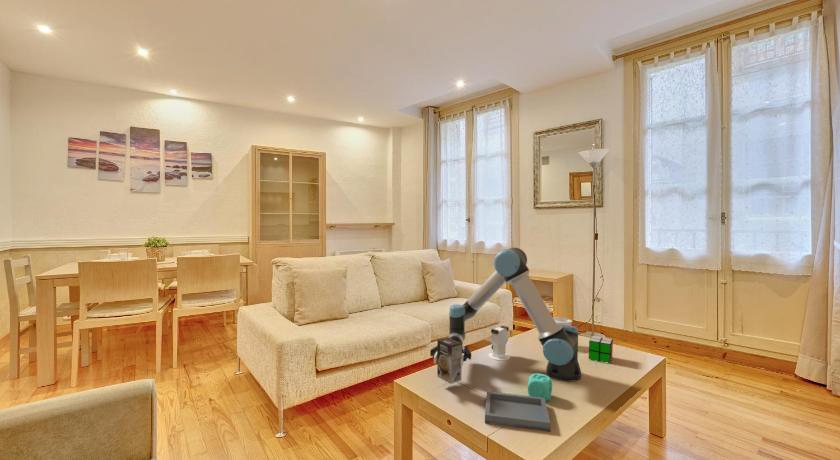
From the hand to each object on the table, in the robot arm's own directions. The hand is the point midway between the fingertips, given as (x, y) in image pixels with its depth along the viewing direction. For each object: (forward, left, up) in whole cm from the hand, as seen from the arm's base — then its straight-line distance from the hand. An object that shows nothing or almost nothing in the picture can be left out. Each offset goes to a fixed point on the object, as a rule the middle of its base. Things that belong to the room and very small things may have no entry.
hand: (448, 361), depth 154 cm
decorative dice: (-37, -5, -13) cm, 40 cm away
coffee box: (0, -4, -9) cm, 10 cm away
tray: (-27, +11, -13) cm, 32 cm away
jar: (-55, -70, -13) cm, 90 cm away
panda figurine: (-21, -45, -13) cm, 52 cm away
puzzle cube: (-72, -55, -13) cm, 92 cm away
